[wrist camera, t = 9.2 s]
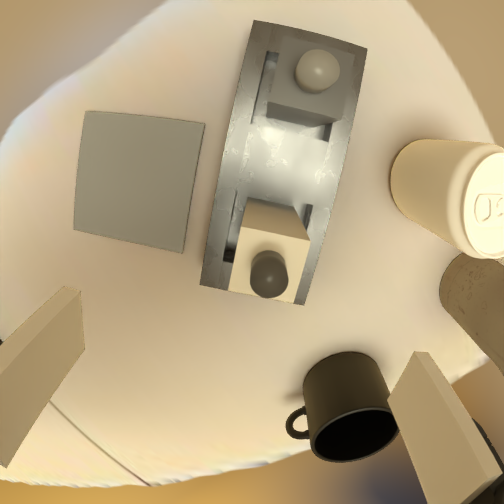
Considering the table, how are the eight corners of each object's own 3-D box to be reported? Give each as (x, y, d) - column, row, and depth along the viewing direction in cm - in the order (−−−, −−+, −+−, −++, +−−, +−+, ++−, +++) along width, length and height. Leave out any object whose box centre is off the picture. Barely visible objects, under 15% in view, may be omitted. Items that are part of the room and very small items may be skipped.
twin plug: (265, 117, 25) (269, 96, 14) (275, 73, 24) (286, 23, 12) (312, 128, 25) (351, 117, 14) (322, 84, 24) (365, 45, 12)
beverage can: (457, 215, 28) (533, 254, 17) (391, 227, 29) (456, 276, 17) (452, 137, 25) (535, 144, 14) (382, 142, 26) (453, 146, 15)
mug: (271, 372, 35) (272, 433, 26) (372, 339, 33) (399, 394, 24) (294, 421, 37) (299, 476, 29) (382, 393, 36) (403, 445, 27)
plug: (239, 240, 28) (224, 306, 17) (248, 196, 27) (238, 236, 16) (283, 249, 29) (296, 320, 17) (293, 206, 27) (316, 253, 16)
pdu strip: (299, 285, 31) (304, 308, 27) (207, 266, 30) (198, 287, 26) (354, 60, 24) (369, 46, 19) (254, 35, 23) (253, 17, 19)
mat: (75, 228, 30) (73, 229, 29) (87, 111, 26) (85, 111, 25) (183, 251, 30) (182, 253, 30) (205, 124, 26) (204, 123, 26)
